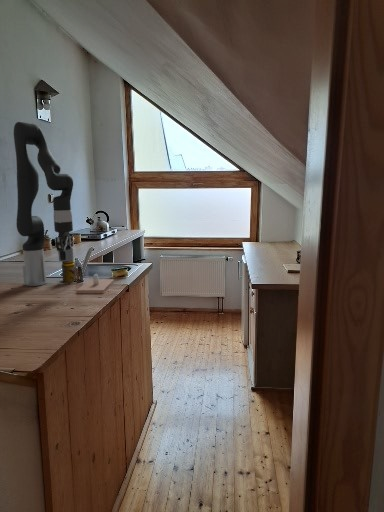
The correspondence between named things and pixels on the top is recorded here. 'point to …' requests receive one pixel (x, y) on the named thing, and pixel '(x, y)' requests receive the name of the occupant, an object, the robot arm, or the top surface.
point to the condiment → (68, 272)
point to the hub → (67, 254)
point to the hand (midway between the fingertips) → (66, 258)
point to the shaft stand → (95, 285)
